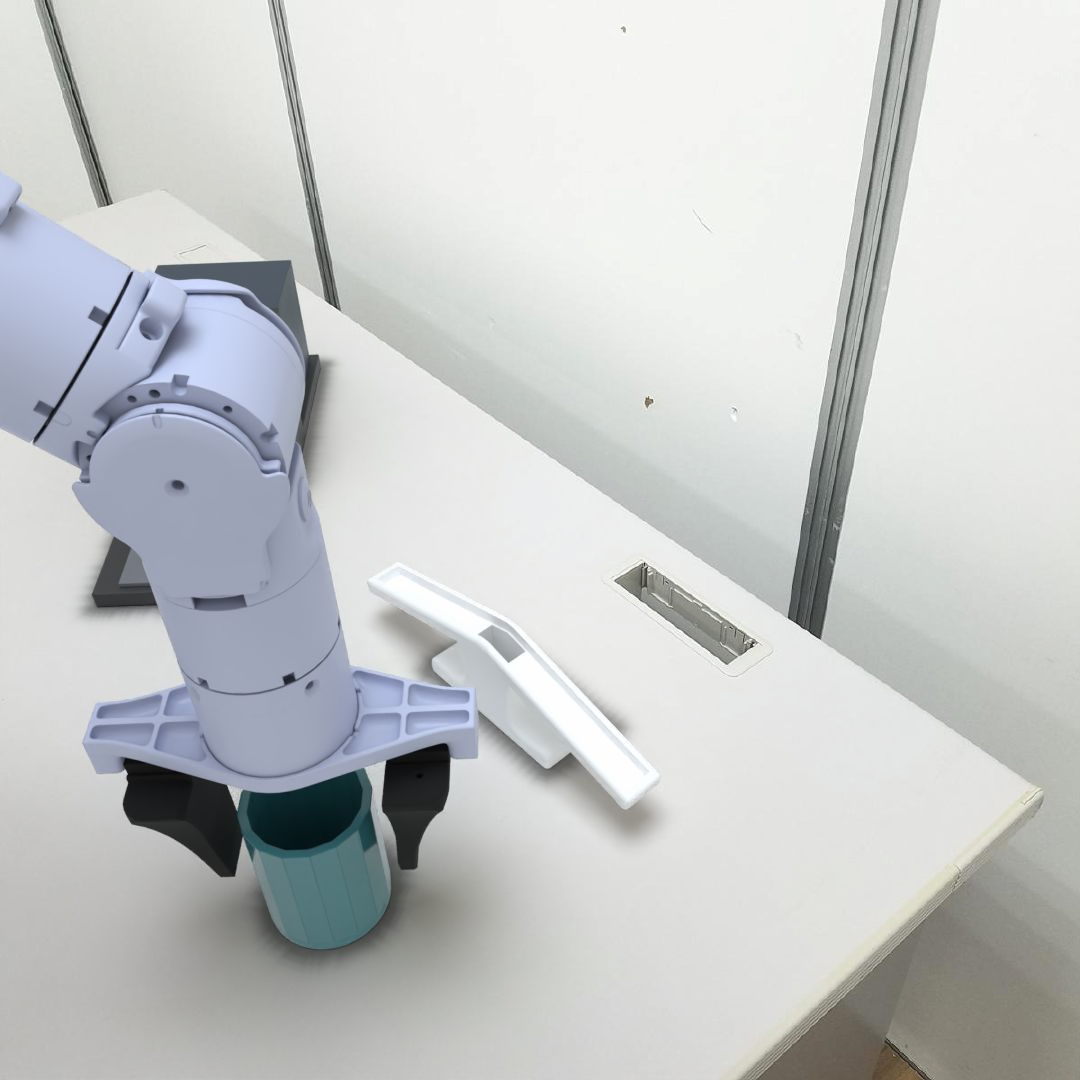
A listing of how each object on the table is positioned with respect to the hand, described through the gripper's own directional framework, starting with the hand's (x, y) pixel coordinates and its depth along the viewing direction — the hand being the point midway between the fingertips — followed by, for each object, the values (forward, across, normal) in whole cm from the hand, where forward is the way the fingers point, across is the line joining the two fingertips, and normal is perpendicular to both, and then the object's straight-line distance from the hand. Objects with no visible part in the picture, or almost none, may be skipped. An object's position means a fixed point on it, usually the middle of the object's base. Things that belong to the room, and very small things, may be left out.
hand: (320, 853), depth 49 cm
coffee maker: (+3, +11, -31) cm, 33 cm away
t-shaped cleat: (+3, -8, -11) cm, 14 cm away
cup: (+3, 0, 0) cm, 3 cm away
